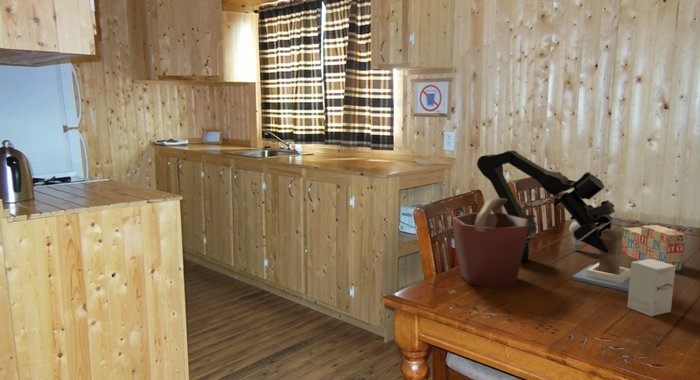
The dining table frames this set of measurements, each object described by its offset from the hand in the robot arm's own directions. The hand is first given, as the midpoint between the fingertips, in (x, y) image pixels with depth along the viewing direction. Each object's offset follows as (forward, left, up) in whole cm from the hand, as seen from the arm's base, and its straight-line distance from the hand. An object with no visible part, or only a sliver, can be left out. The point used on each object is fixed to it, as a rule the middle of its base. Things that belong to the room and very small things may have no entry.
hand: (612, 249), depth 157 cm
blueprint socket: (0, 0, -10) cm, 10 cm away
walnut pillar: (-1, 0, -9) cm, 9 cm away
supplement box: (+21, -12, -10) cm, 26 cm away
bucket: (-17, -32, -10) cm, 37 cm away
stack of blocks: (-6, +29, -10) cm, 31 cm away
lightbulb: (-26, +17, -10) cm, 33 cm away
